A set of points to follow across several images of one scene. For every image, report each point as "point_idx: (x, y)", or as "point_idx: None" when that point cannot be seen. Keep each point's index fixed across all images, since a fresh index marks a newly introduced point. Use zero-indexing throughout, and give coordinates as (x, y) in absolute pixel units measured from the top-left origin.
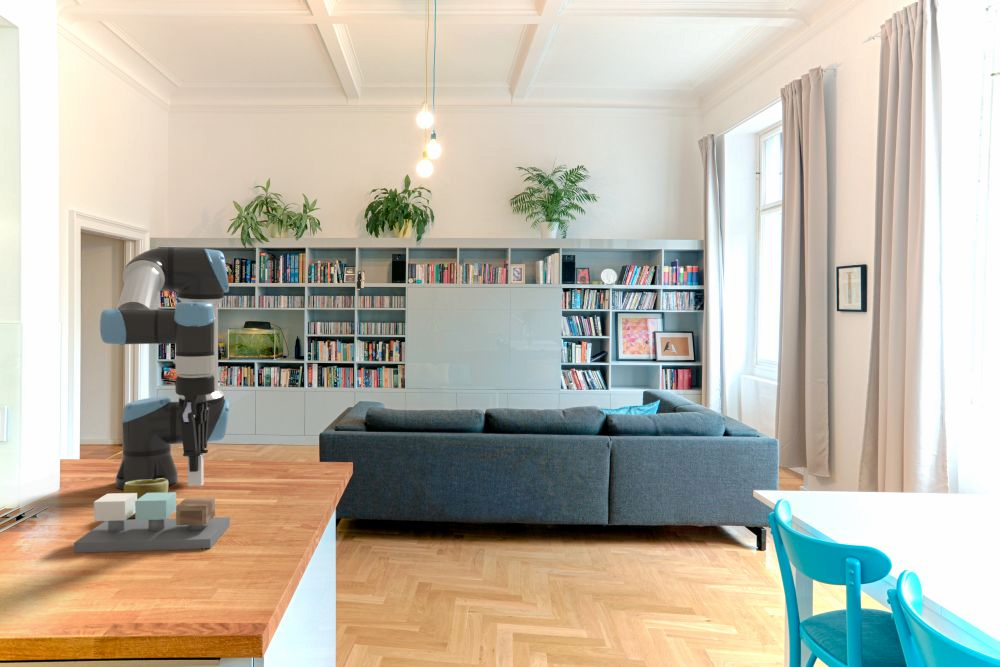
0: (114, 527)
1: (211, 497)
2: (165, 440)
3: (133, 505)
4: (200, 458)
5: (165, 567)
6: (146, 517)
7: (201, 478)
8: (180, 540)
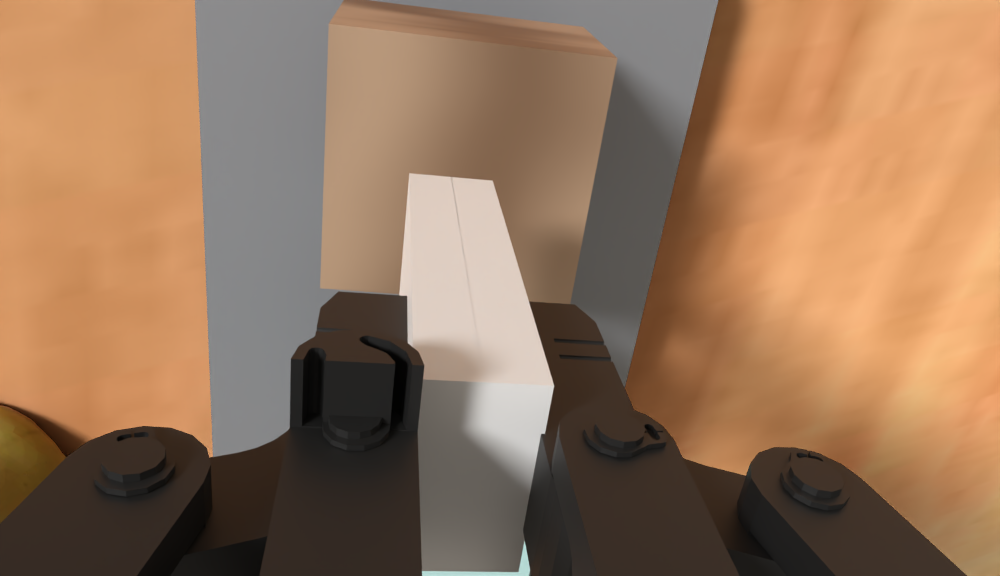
0: None
1: (330, 59)
2: None
3: None
4: (545, 368)
5: (922, 159)
6: None
7: (497, 213)
8: (678, 161)
